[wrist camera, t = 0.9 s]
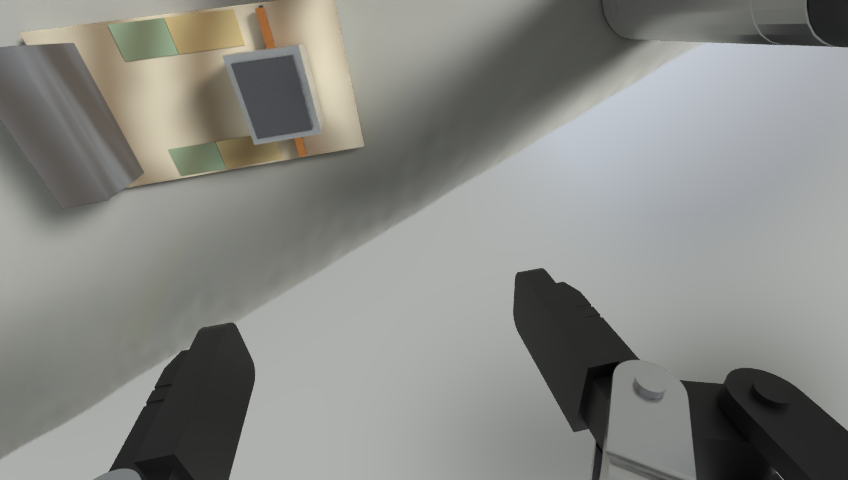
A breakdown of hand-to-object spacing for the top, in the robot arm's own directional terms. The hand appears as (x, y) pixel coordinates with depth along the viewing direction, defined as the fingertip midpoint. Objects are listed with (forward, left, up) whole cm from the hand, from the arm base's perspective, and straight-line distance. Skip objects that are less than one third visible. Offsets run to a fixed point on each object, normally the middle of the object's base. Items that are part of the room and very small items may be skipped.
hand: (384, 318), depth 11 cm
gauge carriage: (+5, -4, -26) cm, 27 cm away
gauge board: (+11, -4, -28) cm, 30 cm away
